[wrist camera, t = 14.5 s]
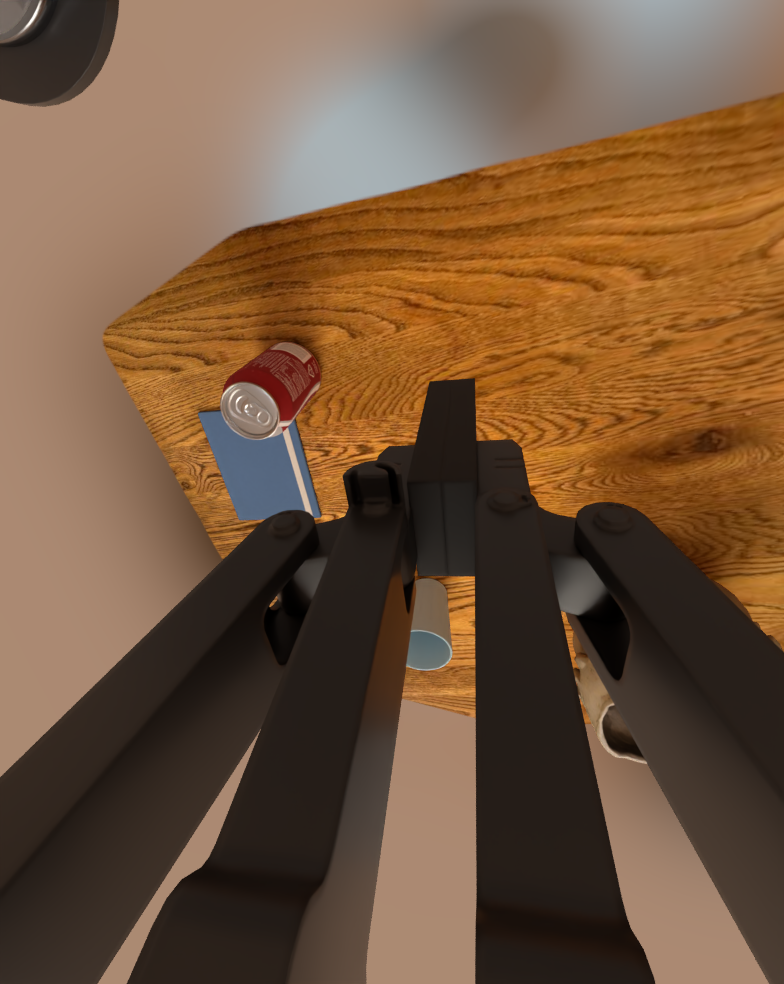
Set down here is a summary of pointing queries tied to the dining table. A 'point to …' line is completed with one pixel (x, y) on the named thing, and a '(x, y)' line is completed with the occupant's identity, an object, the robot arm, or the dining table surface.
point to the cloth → (261, 470)
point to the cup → (430, 627)
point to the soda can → (270, 391)
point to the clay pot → (602, 706)
